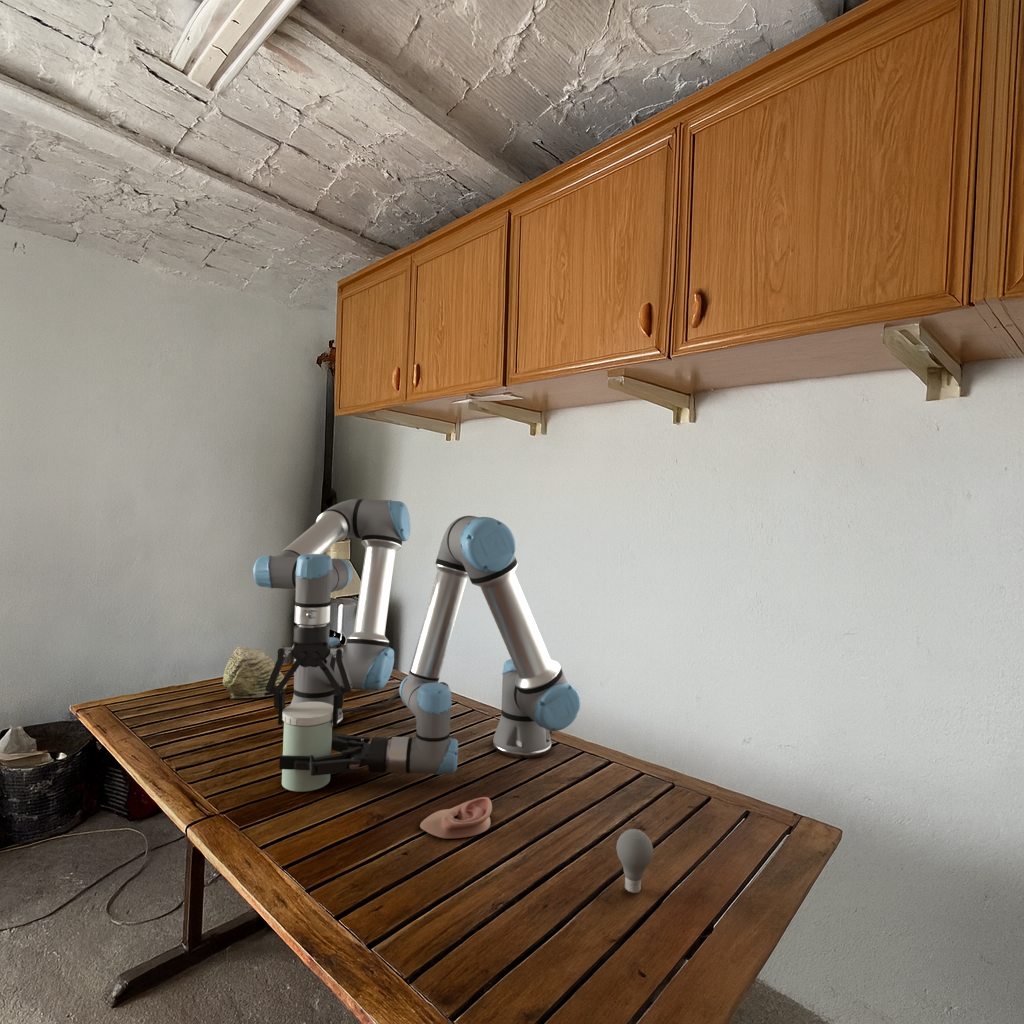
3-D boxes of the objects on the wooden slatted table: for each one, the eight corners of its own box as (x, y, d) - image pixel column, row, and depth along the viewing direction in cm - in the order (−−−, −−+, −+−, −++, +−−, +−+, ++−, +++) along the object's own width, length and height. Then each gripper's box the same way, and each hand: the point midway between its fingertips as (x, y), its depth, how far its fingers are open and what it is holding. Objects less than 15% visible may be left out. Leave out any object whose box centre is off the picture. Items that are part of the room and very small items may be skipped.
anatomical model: (414, 813, 120) (434, 787, 131) (414, 834, 120) (433, 806, 131) (482, 823, 117) (496, 795, 129) (481, 844, 118) (495, 815, 129)
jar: (332, 788, 138) (335, 717, 138) (282, 794, 134) (285, 722, 134) (327, 768, 147) (330, 703, 147) (280, 774, 144) (283, 706, 143)
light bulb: (610, 879, 108) (613, 822, 108) (644, 879, 109) (647, 822, 109) (619, 902, 102) (622, 840, 102) (655, 901, 103) (658, 840, 103)
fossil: (218, 695, 195) (220, 647, 195) (278, 685, 208) (279, 640, 207) (228, 703, 189) (230, 653, 188) (289, 692, 201) (290, 645, 201)
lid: (332, 707, 148) (332, 699, 148) (336, 723, 137) (337, 715, 137) (281, 710, 144) (282, 703, 144) (282, 727, 133) (282, 719, 133)
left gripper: (252, 626, 135) (248, 728, 135) (364, 628, 138) (360, 728, 138) (261, 620, 142) (258, 716, 143) (367, 622, 145) (363, 717, 146)
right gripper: (379, 795, 130) (269, 792, 129) (395, 751, 153) (302, 748, 152) (380, 759, 130) (271, 756, 129) (396, 720, 153) (303, 717, 152)
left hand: (308, 722), depth 141 cm, fingers closed on lid, 11 cm apart
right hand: (288, 751), depth 140 cm, fingers closed on jar, 10 cm apart
